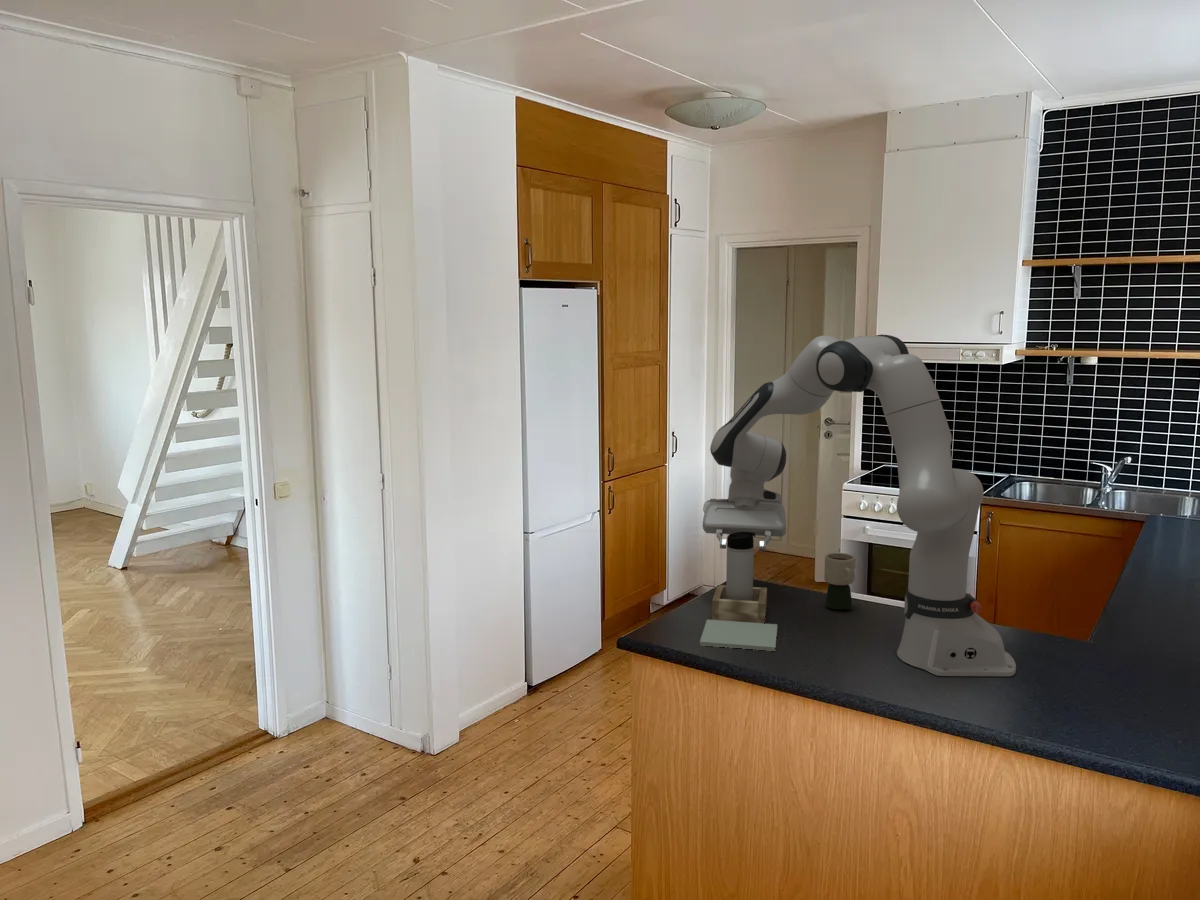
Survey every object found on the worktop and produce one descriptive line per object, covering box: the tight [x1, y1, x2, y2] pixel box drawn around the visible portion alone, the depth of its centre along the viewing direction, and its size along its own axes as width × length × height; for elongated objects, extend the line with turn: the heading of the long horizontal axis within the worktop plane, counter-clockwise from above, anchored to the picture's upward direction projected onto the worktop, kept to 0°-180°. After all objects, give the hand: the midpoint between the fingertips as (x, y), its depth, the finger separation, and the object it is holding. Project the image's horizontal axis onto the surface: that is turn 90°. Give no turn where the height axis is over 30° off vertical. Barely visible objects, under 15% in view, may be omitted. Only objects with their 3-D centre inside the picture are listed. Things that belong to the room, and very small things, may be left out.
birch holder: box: [711, 584, 768, 624], centre depth 207 cm, size 12×12×5 cm
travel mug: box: [725, 532, 756, 601], centre depth 206 cm, size 6×7×20 cm
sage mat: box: [699, 619, 778, 652], centre depth 193 cm, size 16×14×1 cm
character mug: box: [823, 552, 856, 611], centre depth 210 cm, size 11×7×13 cm, turn 10°
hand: (742, 548), depth 209 cm, fingers open, 8 cm apart
